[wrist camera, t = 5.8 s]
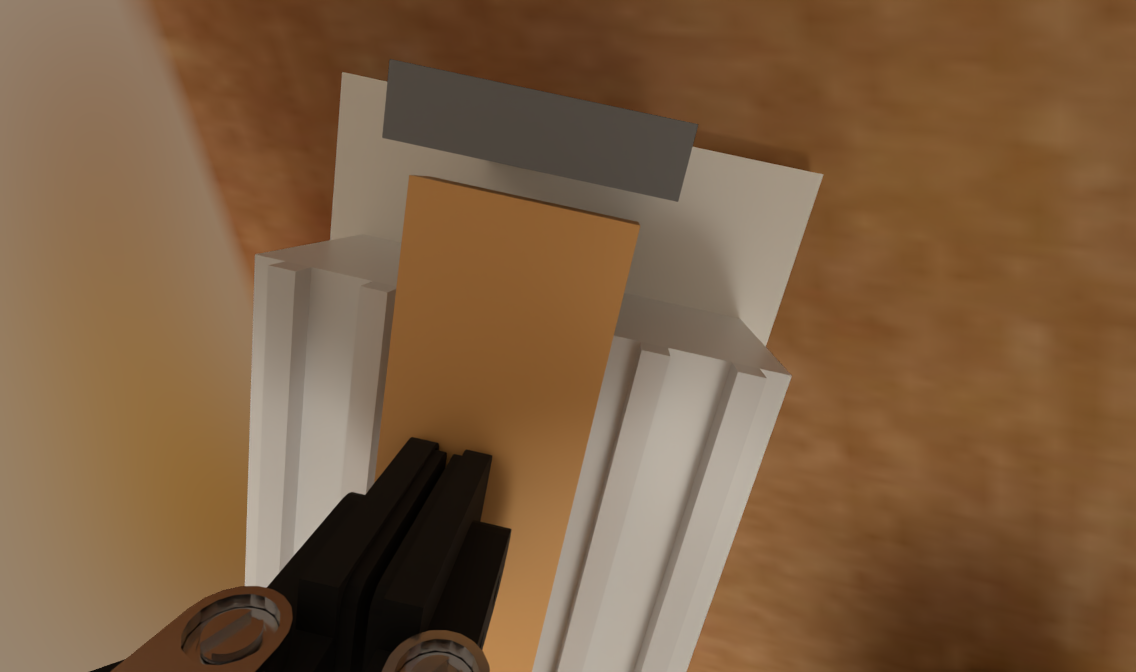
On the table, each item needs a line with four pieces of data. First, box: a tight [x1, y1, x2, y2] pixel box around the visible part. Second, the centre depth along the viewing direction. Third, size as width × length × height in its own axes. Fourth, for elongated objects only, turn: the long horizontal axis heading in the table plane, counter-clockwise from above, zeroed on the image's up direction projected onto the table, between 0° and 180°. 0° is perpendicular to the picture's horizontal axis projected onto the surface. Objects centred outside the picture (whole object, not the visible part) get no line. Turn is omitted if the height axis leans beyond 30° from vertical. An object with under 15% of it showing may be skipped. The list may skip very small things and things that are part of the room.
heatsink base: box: [245, 59, 823, 672], centre depth 15 cm, size 26×14×10 cm, turn 168°
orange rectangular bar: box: [374, 175, 640, 672], centre depth 12 cm, size 21×4×2 cm, turn 168°
